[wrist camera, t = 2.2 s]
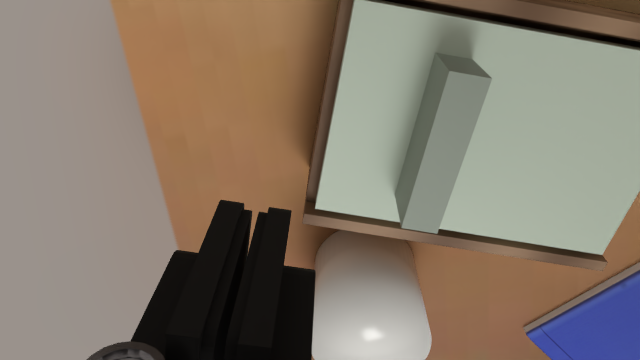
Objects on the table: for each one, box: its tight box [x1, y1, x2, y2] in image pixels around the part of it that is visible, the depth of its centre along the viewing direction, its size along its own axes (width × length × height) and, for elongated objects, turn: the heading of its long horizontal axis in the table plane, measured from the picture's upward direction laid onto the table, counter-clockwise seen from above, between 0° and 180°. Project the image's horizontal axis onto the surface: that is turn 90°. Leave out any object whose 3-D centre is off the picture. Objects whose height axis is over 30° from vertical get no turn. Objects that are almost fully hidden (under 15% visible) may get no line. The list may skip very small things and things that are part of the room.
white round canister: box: [312, 230, 431, 360], centre depth 29 cm, size 7×7×7 cm
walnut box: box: [303, 0, 640, 271], centre depth 24 cm, size 16×12×6 cm
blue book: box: [523, 262, 640, 360], centre depth 34 cm, size 2×8×12 cm
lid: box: [315, 0, 640, 255], centre depth 20 cm, size 15×10×4 cm, turn 81°
